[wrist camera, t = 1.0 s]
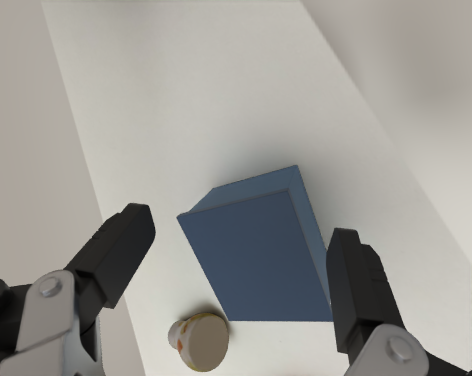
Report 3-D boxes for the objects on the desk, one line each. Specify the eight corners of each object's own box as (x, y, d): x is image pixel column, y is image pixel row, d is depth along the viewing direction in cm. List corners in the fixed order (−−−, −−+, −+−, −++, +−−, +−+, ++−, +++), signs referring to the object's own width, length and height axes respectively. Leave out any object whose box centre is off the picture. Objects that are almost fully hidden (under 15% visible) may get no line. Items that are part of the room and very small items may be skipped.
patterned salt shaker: (166, 310, 42) (143, 348, 32) (220, 289, 42) (214, 321, 32) (182, 351, 42) (164, 403, 32) (236, 331, 42) (235, 376, 32)
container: (209, 186, 29) (175, 217, 23) (299, 160, 24) (287, 190, 18) (248, 273, 32) (228, 321, 26) (334, 266, 27) (334, 321, 21)
